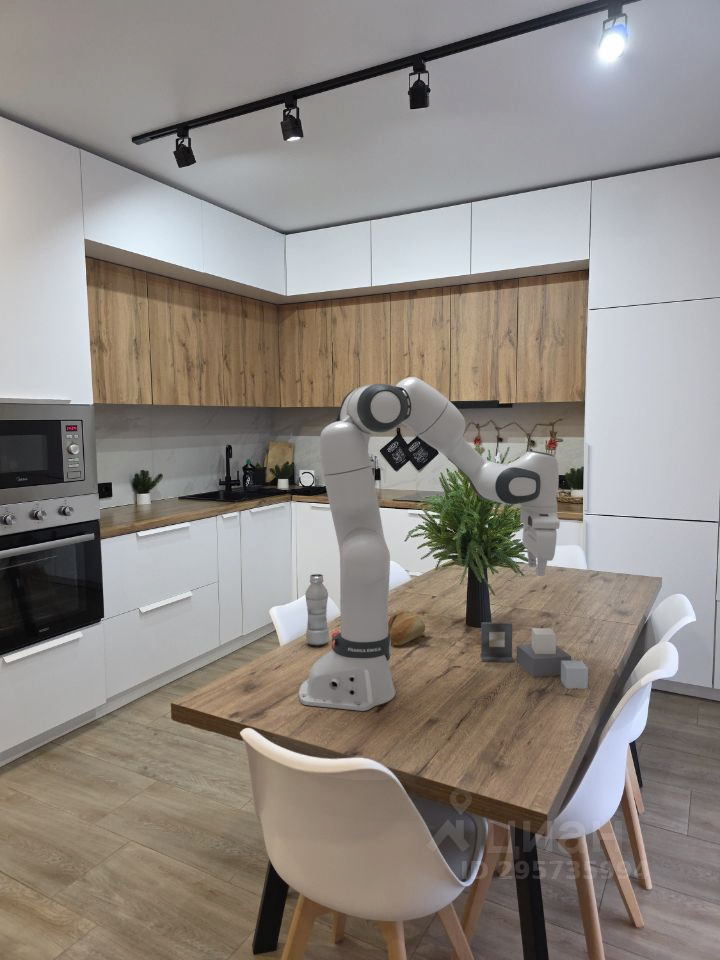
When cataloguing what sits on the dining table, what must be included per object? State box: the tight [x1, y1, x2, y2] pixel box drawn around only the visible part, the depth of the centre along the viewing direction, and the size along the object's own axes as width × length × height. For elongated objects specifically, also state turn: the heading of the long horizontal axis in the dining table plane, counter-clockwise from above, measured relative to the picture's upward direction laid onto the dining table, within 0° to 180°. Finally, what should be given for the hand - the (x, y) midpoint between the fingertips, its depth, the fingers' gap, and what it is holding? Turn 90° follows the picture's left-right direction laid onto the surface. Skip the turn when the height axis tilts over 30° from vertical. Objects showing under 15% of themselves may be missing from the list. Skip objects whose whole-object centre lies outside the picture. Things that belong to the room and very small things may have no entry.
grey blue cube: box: [560, 660, 589, 690], centre depth 157 cm, size 5×5×5 cm
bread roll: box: [388, 611, 426, 646], centre depth 189 cm, size 10×15×8 cm, turn 149°
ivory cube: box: [531, 627, 557, 654], centre depth 167 cm, size 5×5×5 cm
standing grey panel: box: [479, 622, 514, 663], centre depth 174 cm, size 8×4×10 cm, turn 87°
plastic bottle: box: [305, 573, 330, 646], centre depth 186 cm, size 6×7×20 cm
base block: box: [516, 643, 572, 678], centre depth 167 cm, size 10×10×5 cm
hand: (536, 570), depth 164 cm, fingers open, 8 cm apart
